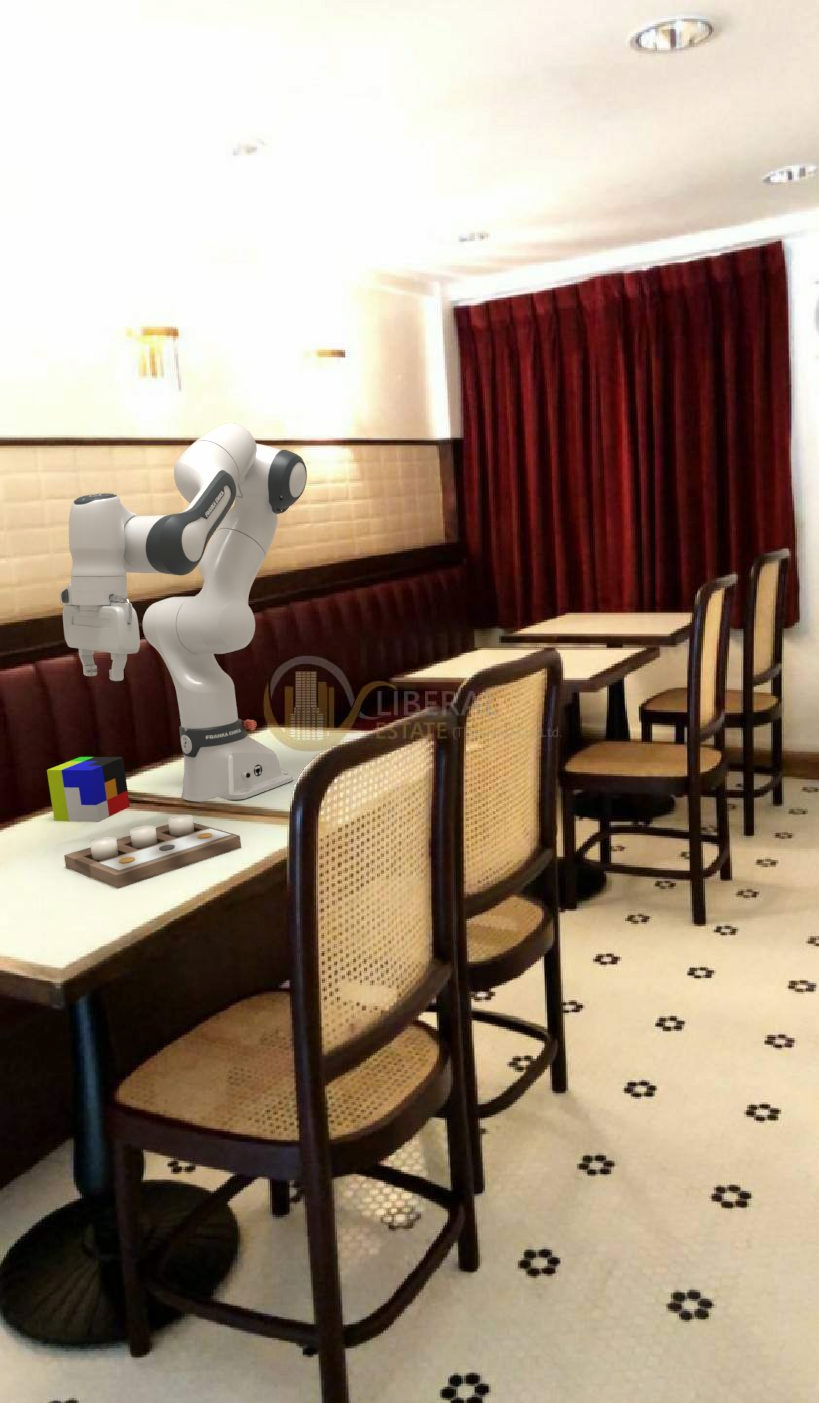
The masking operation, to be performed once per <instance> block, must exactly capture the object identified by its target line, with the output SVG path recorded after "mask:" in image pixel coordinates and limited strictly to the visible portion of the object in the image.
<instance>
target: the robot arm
mask: <svg viewBox="0 0 819 1403" xmlns="http://www.w3.org/2000/svg"><path fill="white" fill-rule="evenodd" d="M307 471H308V470H307V466H306V464H305V462H304V459H303V458H302V457H301V455H299V454H297V453H294V451H290V450H288V449H280V448H276V447H273V446H269V445H266V444H261V443H260V444H259V443H257V442H256V440H255V438H254V436H253V435H252V433H251V432H250V431H249V430H248V429H247V428H246V427H244V426H242V425H240V424H238V423H234V422H227V423H222V424H220V425H217V426H216V427H214V428H212V429H211V430H208V431H207V432H206V433H204V434H203V435H202V436H200V437H199V438H198V439H197V440H195V441H194V442H193V443H192V444H190V446H189V447H187V448H186V449H185V451H184V452H182V454H181V455H180V456H179V457H178V459H177V461H176V463H175V465H174V468H173V478H174V483H175V486H176V488H177V490H178V491H179V492H178V493H179V494H180V496H182V498H183V499H185V501H187V502H188V503H189V504H188V506H187V508H185V509H184V511H180V512H177V513H170V514H157V515H138V514H137V513H135V512H132V511H131V510H129V509H128V508H127V507H126V506H124V504H123V503H121V500H120V497H119V495H117V494H114V493H105V492H104V493H97V494H96V493H95V494H87V495H82V496H80V497H77V498H76V499H75V500H73V501H72V503H71V506H70V510H69V518H68V546H69V547H68V548H69V552H70V555H71V558H72V559H71V560H72V561H71V562H72V567H71V570H70V583H69V584H68V585H67V586H66V587H65V588H63V589H62V590H61V591H60V592H59V602H60V604H61V605H63V608H62V623H63V634H64V640H65V642H66V645H67V647H69V648H73V649H78V656H79V659H80V662H81V664H82V670H83V675H84V676H86V677H94V676H95V677H96V676H97V675H98V666H97V665H96V664H95V660H94V655H95V652H100V653H101V652H102V653H110V660H112V662H111V663H112V664H111V669H109V670H108V671H109V672H108V673H109V679H110V680H111V681H113V682H120V681H123V680H124V678H125V677H124V675H125V674H124V672H125V671H124V669H125V668H126V663H127V661H128V655H129V654H130V655H131V654H137V653H139V650H140V648H141V640H140V638H141V637H140V629H139V628H140V627H139V619H138V615H137V611H136V610H135V608H134V607H133V603H131V602H130V600H129V598H128V577H127V573H133V574H134V573H137V574H138V573H139V574H165V575H174V576H186V575H188V574H190V573H192V572H193V571H194V570H195V569H196V568H197V566H198V569H199V573H200V575H201V577H202V579H203V585H202V588H201V590H200V592H199V593H197V594H195V596H172V597H171V596H170V597H168V598H164V599H162V600H159V601H156V602H154V603H152V604H151V605H149V606H148V608H146V611H145V613H144V615H143V619H142V630H143V634H144V638H145V639H146V641H147V642H148V643H149V645H150V646H152V647H153V648H155V650H156V651H157V652H158V653H159V654H160V657H161V658H162V660H163V662H164V663H165V665H166V668H167V669H168V672H169V674H170V676H171V679H172V682H173V685H174V687H175V692H176V699H177V704H178V705H177V706H178V711H179V719H180V726H179V727H178V728H179V738H180V746H181V750H182V751H181V752H182V754H183V782H182V785H183V786H182V792H181V798H182V799H183V800H185V801H190V802H200V803H201V802H207V801H210V800H213V799H216V798H219V799H223V800H228V801H229V800H245V799H246V800H247V799H248V798H251V797H253V796H255V795H258V794H262V793H263V792H266V791H270V790H272V789H274V788H278V787H280V786H282V785H285V784H288V783H290V782H292V781H294V780H293V779H294V778H293V774H291V773H289V772H288V771H285V770H281V767H280V762H279V759H278V757H277V756H278V755H277V754H276V752H274V750H273V749H271V748H270V747H268V746H266V745H264V744H263V743H261V742H259V741H257V740H256V739H254V738H252V737H251V736H249V735H248V731H247V730H250V731H254V730H256V727H257V721H255V720H254V719H246V720H243V719H241V718H239V717H238V716H239V715H238V707H237V700H236V699H237V698H236V689H235V684H234V681H233V679H232V678H231V676H230V675H229V674H228V673H226V672H225V671H224V670H223V669H222V667H221V666H220V665H219V663H218V661H217V660H216V657H215V654H216V655H223V654H227V653H232V652H236V651H239V650H242V649H245V648H246V647H247V646H248V645H249V644H250V643H251V642H252V640H253V638H254V636H255V631H256V619H255V615H254V613H253V610H252V608H251V607H250V606H249V595H250V592H251V588H252V586H253V583H254V581H255V579H256V577H257V575H258V573H259V571H260V569H261V567H262V564H264V561H265V559H266V557H267V555H268V553H269V550H270V548H271V545H272V544H273V540H274V539H275V538H274V537H275V535H276V530H277V526H278V522H279V519H278V518H279V517H278V515H279V514H283V513H285V512H287V510H288V509H290V507H291V506H293V505H294V504H295V503H296V502H297V501H298V500H299V498H300V497H301V496H302V495H303V493H304V492H305V488H306V485H307V479H308V476H307V475H308V474H307V473H308V472H307Z"/></svg>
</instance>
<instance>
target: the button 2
mask: <svg viewBox="0 0 819 1403" xmlns="http://www.w3.org/2000/svg"><path fill="white" fill-rule="evenodd" d="M167 822H168V824H169V831H170V835H171V836H184V835H187V834H191V833H193V832H194V824H193V822H194V818H193V815H191V814H178V815H173V816H171V817H169V818H168V820H167Z"/></svg>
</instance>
